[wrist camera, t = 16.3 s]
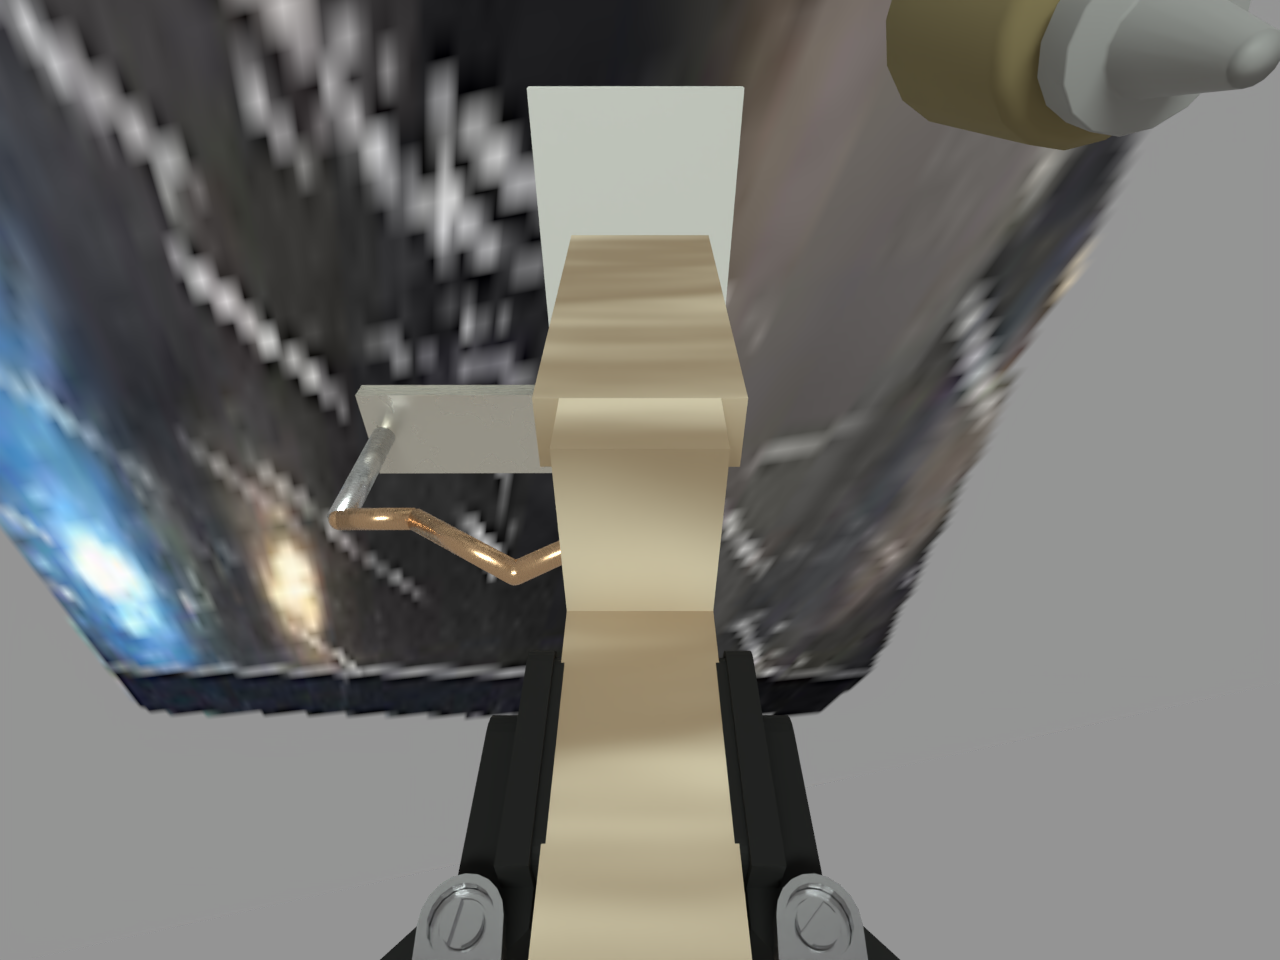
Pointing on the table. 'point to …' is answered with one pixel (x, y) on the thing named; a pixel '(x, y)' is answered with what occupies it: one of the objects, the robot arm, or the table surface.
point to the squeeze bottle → (1071, 63)
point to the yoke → (640, 605)
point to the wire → (444, 461)
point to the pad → (634, 166)
